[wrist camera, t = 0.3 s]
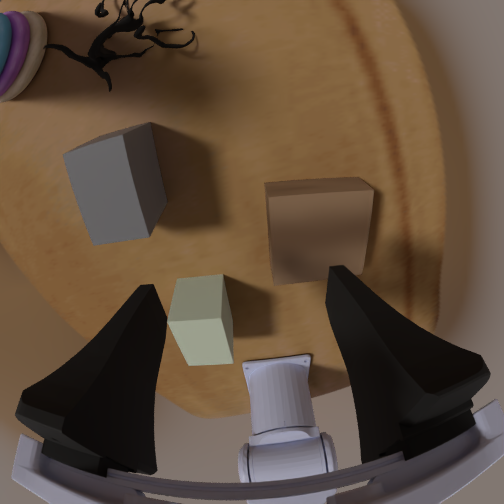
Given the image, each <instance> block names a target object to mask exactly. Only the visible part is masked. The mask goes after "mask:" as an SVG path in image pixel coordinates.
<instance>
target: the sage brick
mask: <svg viewBox="0 0 504 504" xmlns="http://www.w3.org/2000/svg"><path fill="white" fill-rule="evenodd" d="M167 322H168V324H169V327H170V329H171V331H172V333H173V335H174V337H175V339H176V341H177V343H178V345H179V347H180V349H181V351H182V353H183V355H184V357H185V359H186V361H187V363H188V365H189V366H192V365H216V364H232V363H234V360H233V319H232V315H231V310H230V305H229V301H228V296H227V291H226V287H225V282H224V277H223V274H221V275H211V276H201V277H190V278H180V279H177V282H176V286H175V290H174V294H173V298H172V303H171V307H170V311H169V316H168V321H167Z"/></svg>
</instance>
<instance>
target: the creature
mask: <svg viewBox="0 0 504 504" xmlns="http://www.w3.org/2000/svg"><path fill="white" fill-rule="evenodd" d="M136 1H137V0H135V1H134V2H133V4H132V6H133V5H134V3H135V2H136ZM165 1H166V0H150V1H149V2H147V3H146V4H145V6H144V7H143V9H142V11H141V13H140V15H139V19H137V20H135V19H134V18H133V17H134V13H133V11H132V6H131V8H130V11H129V8H128V0H127V1H126V0H124V1H123V4H122V6H121V9H120V13H121V10H122V7H123V5H125V7H126V5H127V10H128V11H127V13H128V15H127V16H126V17H123V18H122V19H121V18H120V13H119V17H118V19H117V20H116V21H115V22H114V23H113V24H111V25H110V26H109V27H108V28H106V29H105V30H104V31H103V32H102V33H100V34H99V35H98V36H97V38H96V39H95V40H94V42H93V43H92V45H91V47H90V49H89V52H88V55H89V57H84V56H80V55H77V54H75V53H74V52H73V51H71V50H70V49H69V48H67V47H66V46H63V45H57V44H48V45H45V46H44V47H43V50H44V48H54V49H57V50H60V51H62V52H63V53H65V54H66V55H67V56H68V57H69V58H71V59H74V60H76V61H78V62H81V63H83V64H84V65H85V66H87V67H89V68H92V69H93V70H94V71H95V72H96V73H97V74H98V75H99V76H100V77H101V78H103V79H105V80H106V81H107V83H108V86H109V92H110V91H111V89H112V84H111V79H110V76H109V74H108V73H107V72H104V71H103V69H102V68H103V67H104V66H105V65H106V64H107V63H109V62H110V61H111V60H116V59H119V58H125V57H141V56H142V55H143V54H144V53H145V52H146V51H147V50H148V49H149V48H152V47H153V46H154V45H153V46H151V47H149V48H147V49H145V50H144V51H143V52H141V53H133V54H130V55H116V53H115V52H114V51H112V50H108V49H106V48H104V46H103V43H104V42H105V41H106V39H107V38H110V37H111V36H112V35H113V34H115V33H116V32H130V31H135V30H136V32H135V34H134V37H135V38H137V39H143V40H144V39H149V40H151V41H153V42H154V43H156V44H157V45H159V46H161V47H162V48H182V47H185V46H187V45H189V44H190V43H191V42H192V41H193V40H194V38H195V33H194V32H193V31H191V32H192V34H193V37H192V39H191V40H190V41H189V42H187V43H186V44H185V45H181V44H165V43H163V42H161V41H160V40H158V39H157V38H155V37H154V36H150V35H145V36H142V33H143V32H144V30H145V28H146V27H145V26H144V25H143V26H141V25H142V24H143V16H142V12H143V10H144V8H145V7H147V6H148V5H149V4H152V3H159V4H162V3H164V2H165ZM100 12H102V13H100ZM108 14H109V13H108V11H107V10H105V9H104V0H103V1H102V3H101V2H100V3H99V4H98V6H97V7H96V9H95V15H96V16H98V17H99V18H101V17H105V16H107V15H108ZM119 18H120V19H121V20H120V21H119V22H118V20H119ZM117 22H118V23H117ZM140 26H141V27H140ZM179 30H183V29H172V30H158V29H155V31H156V33H157V36H158V34H159V33H160V32H163V31H179Z"/></svg>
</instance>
